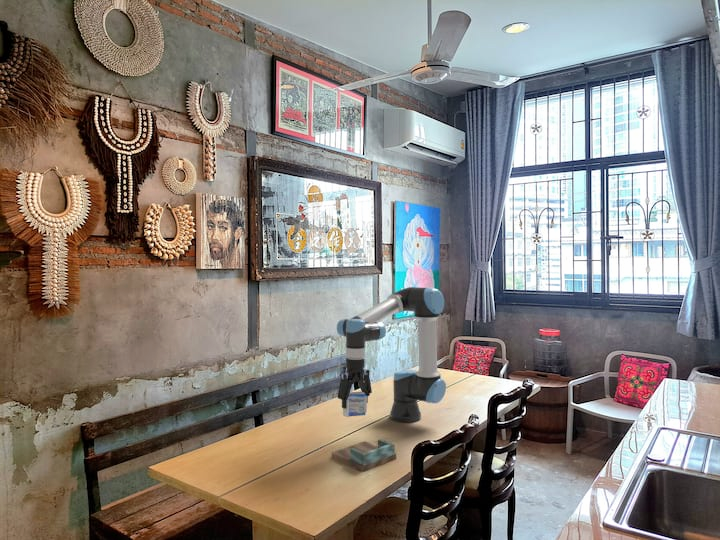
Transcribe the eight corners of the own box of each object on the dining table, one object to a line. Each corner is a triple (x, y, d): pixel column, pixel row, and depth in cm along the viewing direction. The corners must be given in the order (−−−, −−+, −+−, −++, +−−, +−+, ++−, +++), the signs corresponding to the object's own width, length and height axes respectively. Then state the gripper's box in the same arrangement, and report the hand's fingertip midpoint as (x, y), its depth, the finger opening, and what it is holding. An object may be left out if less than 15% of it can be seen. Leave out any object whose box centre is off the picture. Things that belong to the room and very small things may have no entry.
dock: (365, 445, 210) (365, 431, 210) (396, 458, 197) (396, 443, 197) (331, 457, 198) (331, 442, 198) (362, 471, 185) (362, 455, 185)
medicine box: (346, 416, 199) (346, 395, 199) (344, 413, 203) (344, 392, 203) (365, 415, 201) (365, 393, 201) (362, 412, 205) (363, 391, 205)
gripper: (368, 353, 211) (368, 406, 212) (328, 359, 197) (328, 416, 197) (381, 356, 206) (380, 410, 206) (340, 362, 191) (340, 421, 192)
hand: (354, 413), depth 202 cm, fingers closed on medicine box, 9 cm apart
